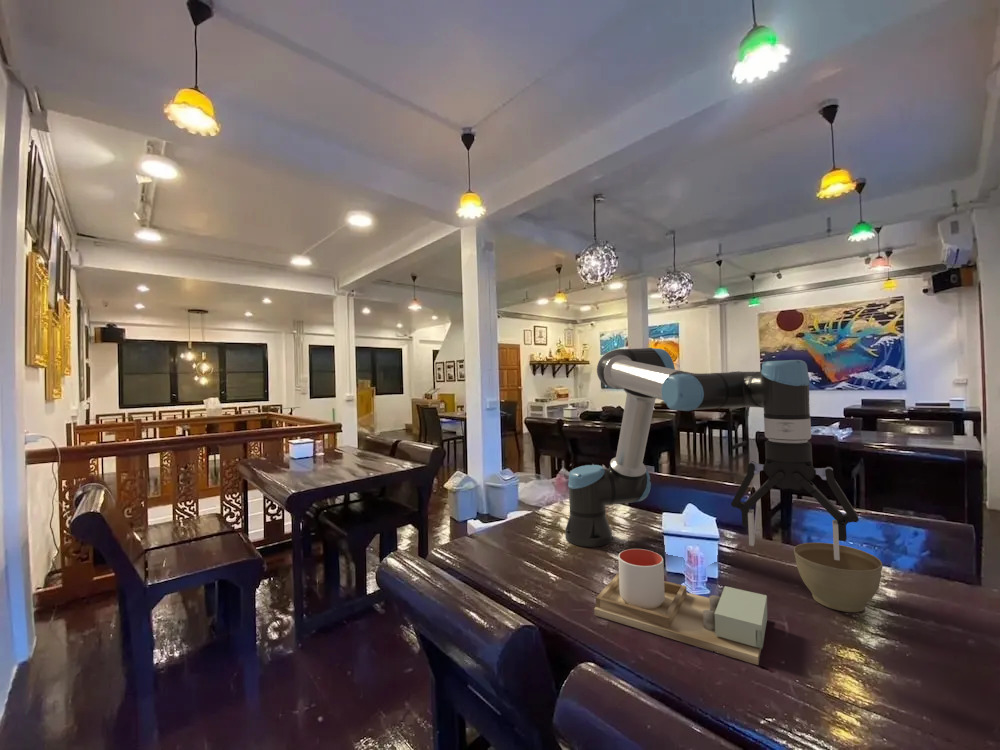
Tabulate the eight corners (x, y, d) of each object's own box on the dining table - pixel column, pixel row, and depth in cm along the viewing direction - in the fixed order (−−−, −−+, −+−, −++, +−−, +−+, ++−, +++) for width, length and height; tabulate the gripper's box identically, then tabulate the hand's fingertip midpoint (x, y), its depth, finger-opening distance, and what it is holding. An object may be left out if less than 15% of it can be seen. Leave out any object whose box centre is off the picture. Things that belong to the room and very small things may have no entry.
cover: (725, 605, 97) (724, 586, 97) (767, 616, 93) (766, 595, 93) (715, 635, 87) (714, 613, 87) (762, 648, 82) (761, 625, 82)
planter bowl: (863, 589, 105) (862, 544, 105) (900, 627, 90) (898, 574, 90) (786, 581, 111) (785, 539, 111) (808, 615, 95) (806, 566, 95)
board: (622, 582, 113) (621, 565, 113) (766, 618, 95) (765, 597, 95) (594, 615, 99) (593, 595, 99) (758, 665, 80) (757, 640, 80)
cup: (668, 613, 96) (666, 567, 96) (621, 610, 98) (619, 565, 98) (661, 590, 105) (659, 549, 105) (618, 588, 107) (617, 547, 107)
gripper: (713, 439, 89) (717, 544, 88) (874, 446, 74) (880, 572, 74) (719, 434, 95) (723, 532, 94) (869, 440, 80) (875, 556, 80)
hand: (792, 550), depth 84 cm, fingers open, 13 cm apart
